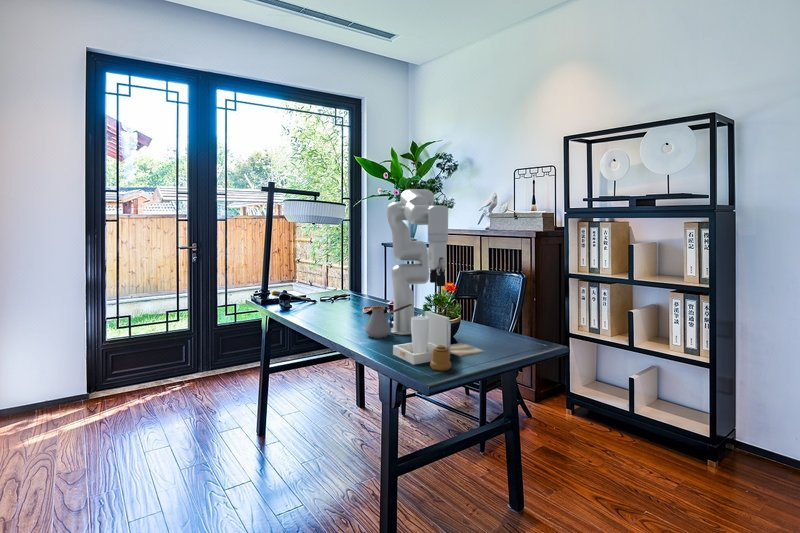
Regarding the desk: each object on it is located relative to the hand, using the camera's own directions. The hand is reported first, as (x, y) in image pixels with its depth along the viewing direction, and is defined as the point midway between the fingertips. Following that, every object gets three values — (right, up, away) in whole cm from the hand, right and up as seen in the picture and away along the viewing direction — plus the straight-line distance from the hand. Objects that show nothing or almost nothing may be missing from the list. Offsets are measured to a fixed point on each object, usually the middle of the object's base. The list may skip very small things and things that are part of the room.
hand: (437, 284), depth 178 cm
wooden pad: (+10, -27, +11) cm, 31 cm away
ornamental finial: (0, -29, -11) cm, 31 cm away
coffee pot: (-19, -25, +34) cm, 46 cm away
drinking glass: (-6, -28, +3) cm, 29 cm away
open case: (-6, -28, +3) cm, 29 cm away
